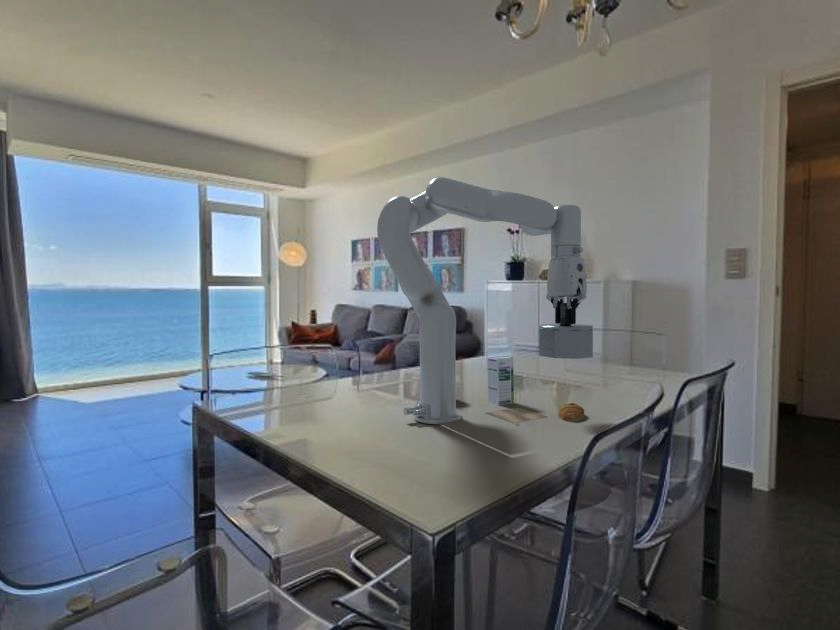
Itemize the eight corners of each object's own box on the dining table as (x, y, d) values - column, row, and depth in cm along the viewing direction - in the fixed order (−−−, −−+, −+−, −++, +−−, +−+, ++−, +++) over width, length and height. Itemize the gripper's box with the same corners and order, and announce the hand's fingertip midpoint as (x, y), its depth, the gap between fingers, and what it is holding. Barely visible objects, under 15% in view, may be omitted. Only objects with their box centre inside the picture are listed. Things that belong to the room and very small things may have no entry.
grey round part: (565, 360, 116) (566, 303, 115) (527, 354, 128) (528, 303, 127) (604, 356, 122) (604, 302, 122) (564, 350, 134) (564, 302, 134)
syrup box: (498, 407, 139) (497, 358, 139) (487, 403, 145) (487, 355, 144) (514, 405, 141) (514, 356, 141) (502, 401, 147) (502, 354, 146)
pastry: (585, 426, 119) (585, 410, 119) (557, 424, 121) (557, 409, 121) (584, 416, 128) (584, 402, 128) (558, 415, 130) (558, 401, 130)
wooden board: (512, 425, 120) (512, 422, 120) (484, 415, 130) (484, 412, 130) (548, 418, 125) (548, 416, 125) (518, 409, 136) (518, 407, 136)
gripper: (601, 251, 119) (600, 324, 119) (553, 256, 133) (553, 321, 134) (579, 250, 115) (579, 326, 116) (533, 255, 129) (533, 322, 130)
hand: (565, 323), depth 125 cm, fingers closed on grey round part, 2 cm apart
